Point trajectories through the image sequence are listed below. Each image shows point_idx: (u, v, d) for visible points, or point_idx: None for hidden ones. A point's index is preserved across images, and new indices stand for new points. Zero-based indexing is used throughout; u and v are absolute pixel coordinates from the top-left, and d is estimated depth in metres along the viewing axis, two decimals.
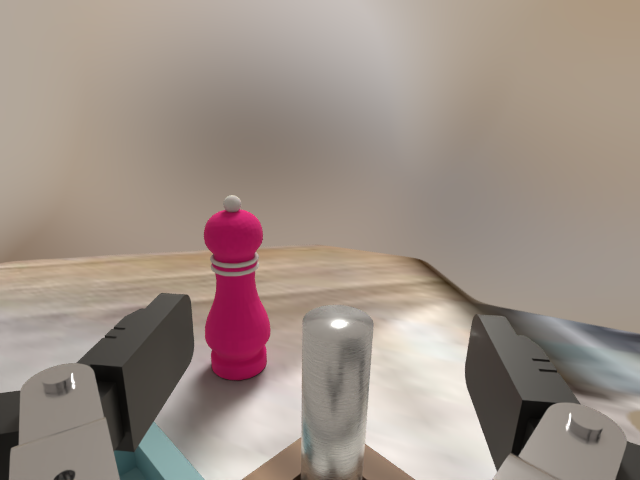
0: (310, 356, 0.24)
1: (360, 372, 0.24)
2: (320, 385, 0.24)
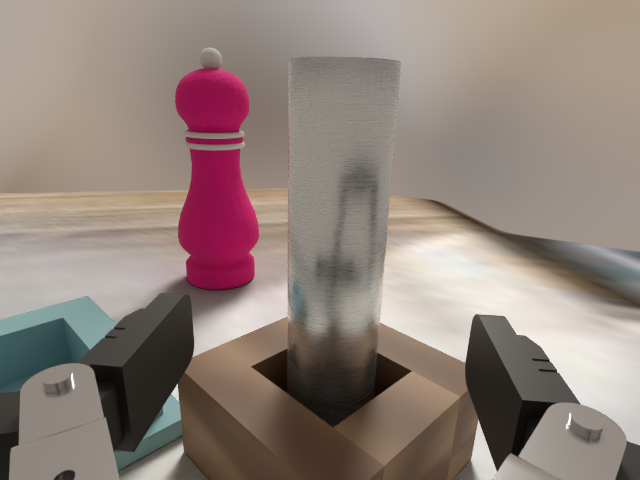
0: (299, 104, 0.15)
1: (380, 131, 0.15)
2: (315, 151, 0.15)
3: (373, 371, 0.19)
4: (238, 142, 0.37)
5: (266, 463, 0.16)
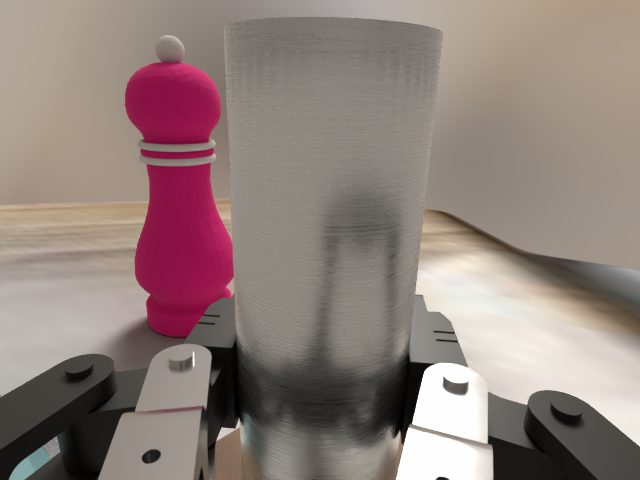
0: (240, 118, 0.07)
1: (404, 173, 0.07)
2: (273, 212, 0.07)
3: None
4: (207, 155, 0.29)
5: None
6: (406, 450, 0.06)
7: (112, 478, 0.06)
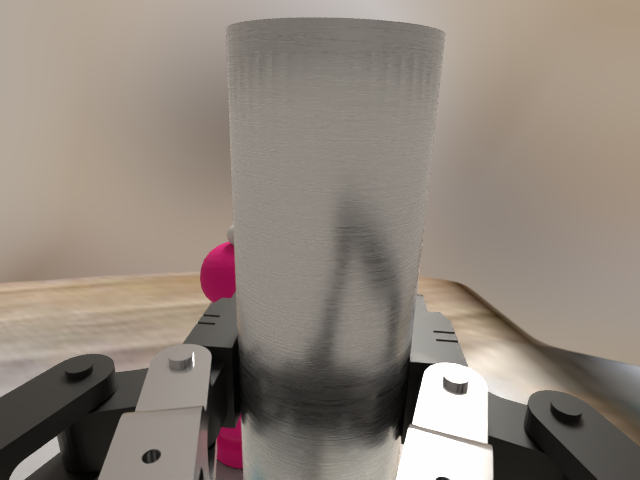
0: (243, 118, 0.07)
1: (407, 174, 0.07)
2: (275, 213, 0.07)
3: None
4: None
5: None
6: (406, 450, 0.06)
7: (112, 478, 0.06)
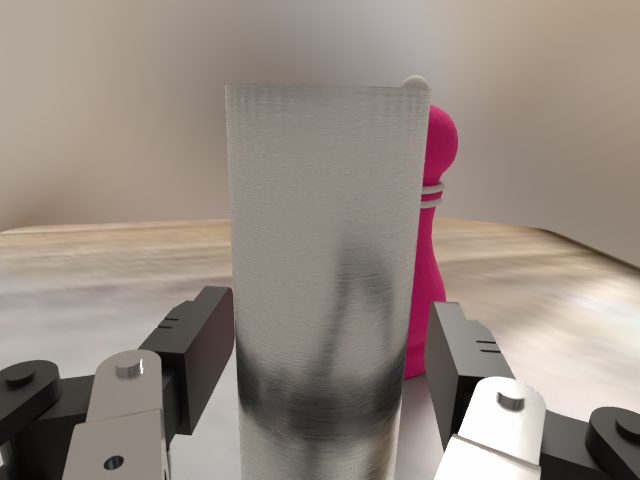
0: (241, 172, 0.08)
1: (395, 222, 0.08)
2: (272, 260, 0.08)
3: None
4: (440, 195, 0.28)
5: None
6: (446, 459, 0.06)
7: None
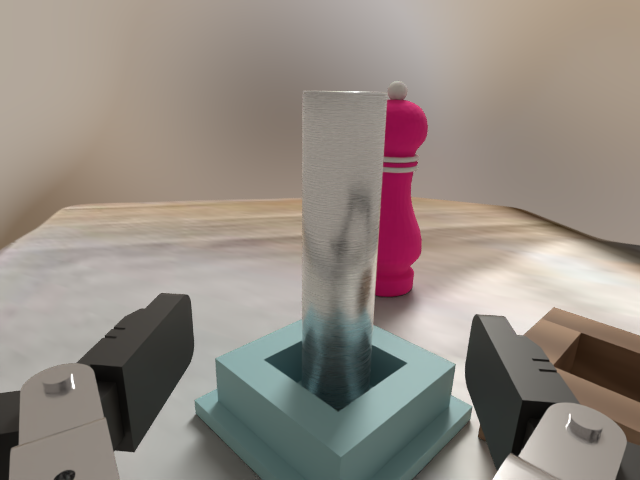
0: (311, 125, 0.20)
1: (373, 145, 0.20)
2: (323, 161, 0.20)
3: (370, 332, 0.24)
4: (416, 164, 0.41)
5: None
6: (497, 478, 0.06)
7: None
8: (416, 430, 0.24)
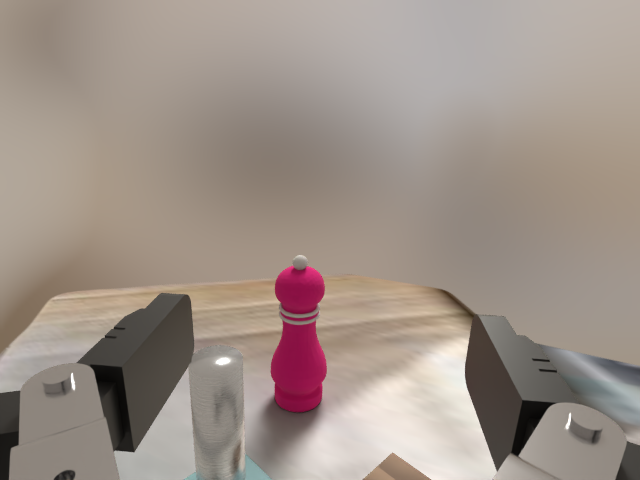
0: (191, 386, 0.32)
1: (229, 399, 0.32)
2: (199, 408, 0.32)
3: None
4: (317, 315, 0.53)
5: None
6: (497, 478, 0.06)
7: None
8: None
